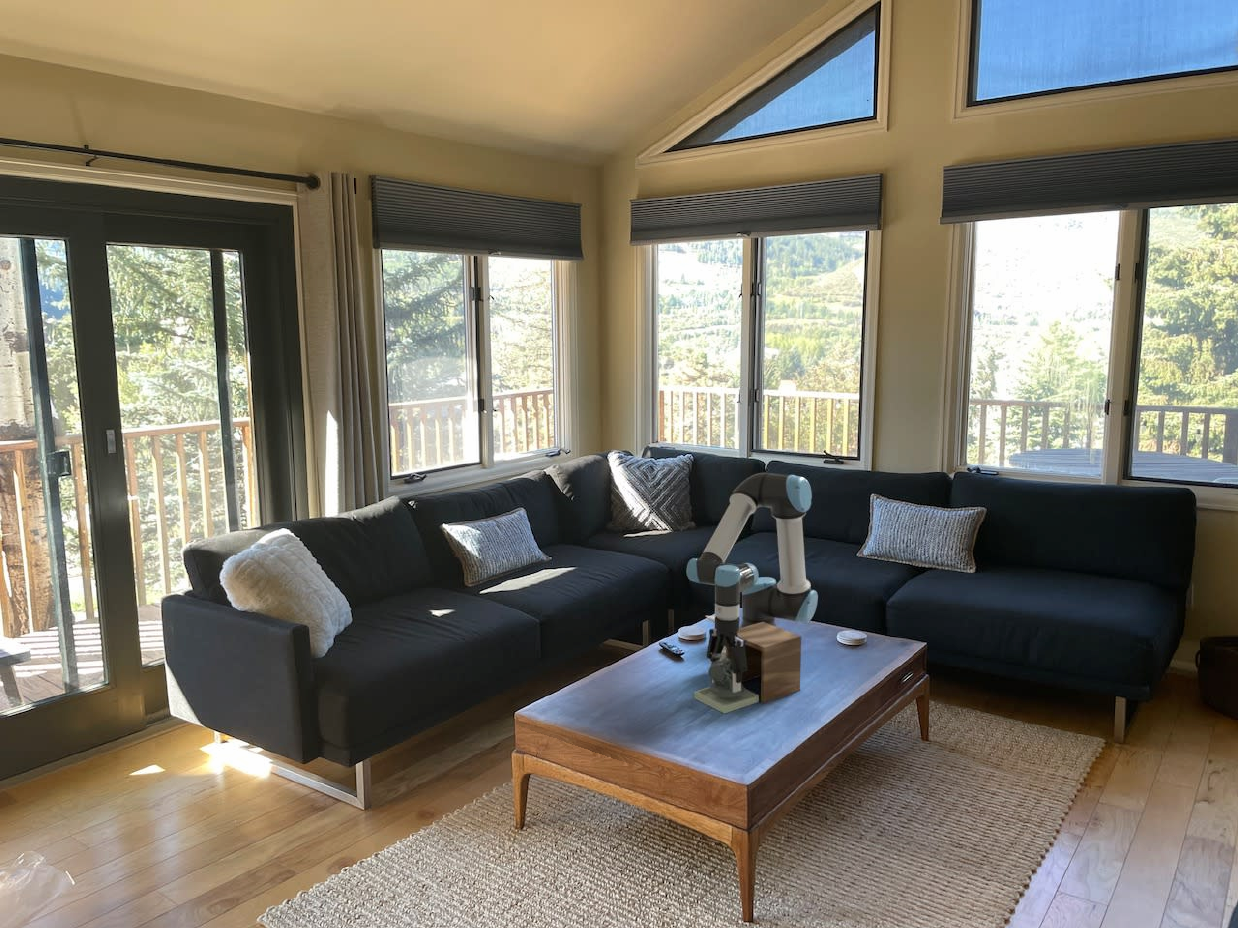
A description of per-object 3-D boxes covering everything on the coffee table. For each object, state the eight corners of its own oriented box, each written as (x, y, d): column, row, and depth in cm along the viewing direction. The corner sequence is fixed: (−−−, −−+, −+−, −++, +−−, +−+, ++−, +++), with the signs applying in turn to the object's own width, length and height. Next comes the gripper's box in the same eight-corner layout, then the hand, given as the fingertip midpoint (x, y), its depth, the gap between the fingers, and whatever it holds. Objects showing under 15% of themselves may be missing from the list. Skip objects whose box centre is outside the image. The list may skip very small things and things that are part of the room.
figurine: (740, 698, 288) (740, 661, 286) (705, 694, 292) (705, 657, 290) (747, 685, 298) (747, 648, 296) (713, 681, 302) (713, 645, 300)
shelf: (725, 685, 307) (726, 631, 304) (762, 673, 316) (762, 621, 313) (763, 703, 293) (764, 647, 290) (799, 690, 303) (801, 636, 300)
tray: (694, 698, 297) (694, 691, 297) (727, 687, 306) (727, 680, 305) (724, 713, 286) (724, 706, 286) (758, 701, 294) (758, 695, 294)
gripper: (694, 609, 298) (694, 678, 302) (742, 628, 281) (741, 701, 284) (713, 605, 302) (712, 673, 306) (760, 623, 285) (759, 695, 289)
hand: (726, 686), depth 295 cm, fingers closed on figurine, 9 cm apart
